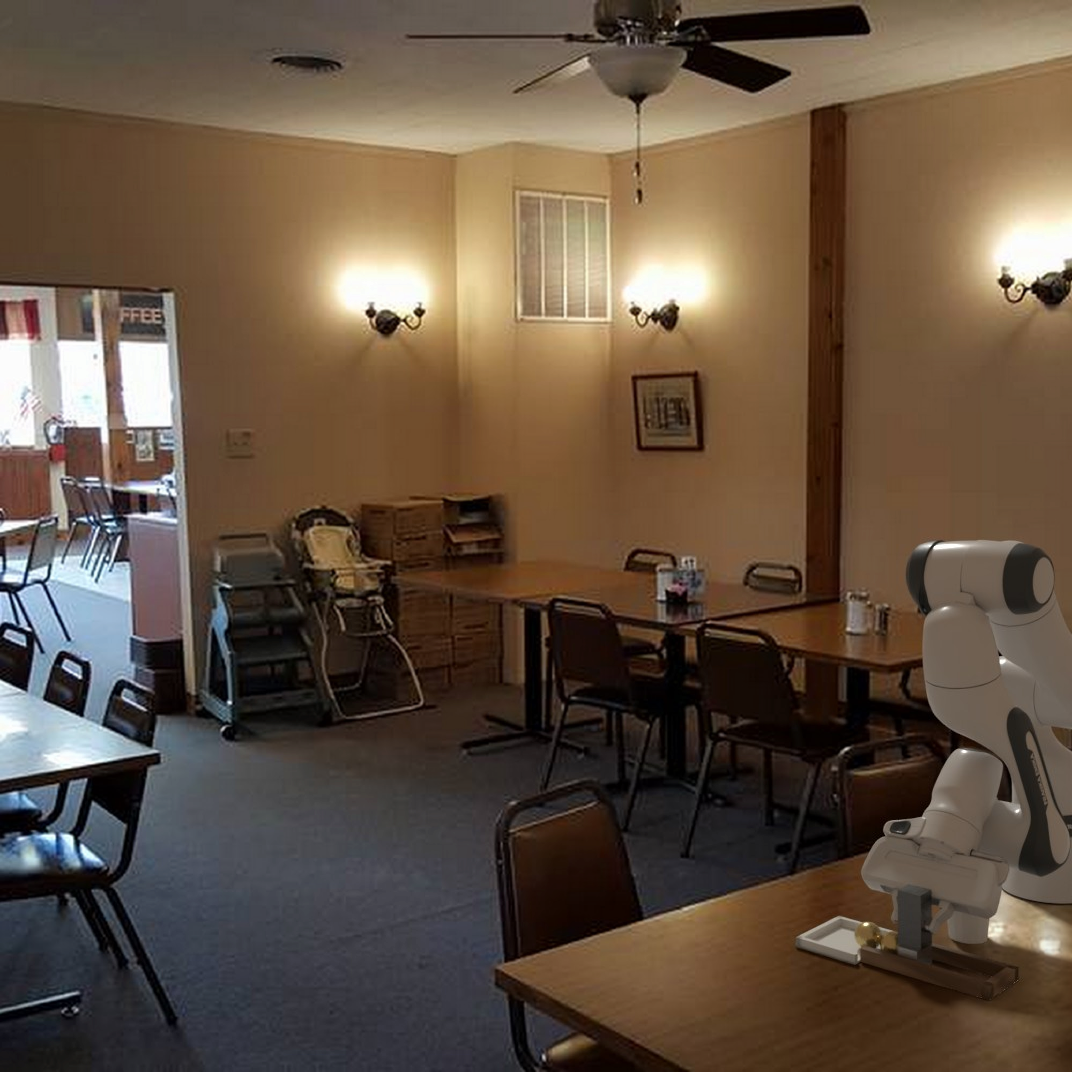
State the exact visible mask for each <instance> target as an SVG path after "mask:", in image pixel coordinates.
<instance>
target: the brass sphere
mask: <svg viewBox="0 0 1072 1072" xmlns="http://www.w3.org/2000/svg"><path fill="white" fill-rule="evenodd" d="M898 946H899V945H898V931H895V930H892V931H890V932H887V933H886V934H884V935H883V937H882V938H881V941H880V948H881V951H883V952H887V953H890V954H894V955H897V956H898Z"/></svg>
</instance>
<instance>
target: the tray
mask: <svg viewBox="0 0 1072 1072" xmlns="http://www.w3.org/2000/svg"><path fill="white" fill-rule="evenodd" d="M863 922H864V921H863ZM863 922H862V921H859V920H855V919H852V918H849V917H844V916H842V915H838V916H836V917H833V918H831V919H829V920H827V921H826V922H824V923H822V924H820V925H817V926H816V927H814V928H811V929H809V930H808V931H806V932H804V933H801V934H800V935H798V936H795V948H798V949H801V950H805V951H808V952H811V953H815V954H818V955H821V956H825V957H828V958H831V959H834V960H838V961H840V962H844V963H847V964H851V965H854V966H855V965H857V964H859V963H861V962H860V948H861V947H860V946H859V945H858V944H857V942H856V940H855V936H854V933H855V929H856V928H857V926H858V925H859V924H861V923H863ZM878 927H879V928H880V930H881V932H882V937H883V935H884V934H886V933H887V932H890V931H893V930H891V929H887V928H885V927H884V928H883V927H881V926H878ZM875 949H877V950H880V951H881V948H880V945H879V946H878V947H877V948H875Z"/></svg>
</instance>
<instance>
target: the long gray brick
mask: <svg viewBox="0 0 1072 1072" xmlns="http://www.w3.org/2000/svg"><path fill="white" fill-rule="evenodd" d="M932 908H933V905H932V890H930V889H926V888H922V887H918V886H914V885H909V884H908V885H906V886H904V887H903V888H901V889H899V890H898V925H897V932H898V945H899V946H898V956H900V957H904V958H907V959H911V960H914V961H918V962H921V963H924V964H928V965H930V964H933V960H932V943H933V934H931V933H927V932H925V930H924V929H923V925H924V923H925V919H926V917H931V918H932V917H933V912H932V910H933V909H932Z"/></svg>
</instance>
